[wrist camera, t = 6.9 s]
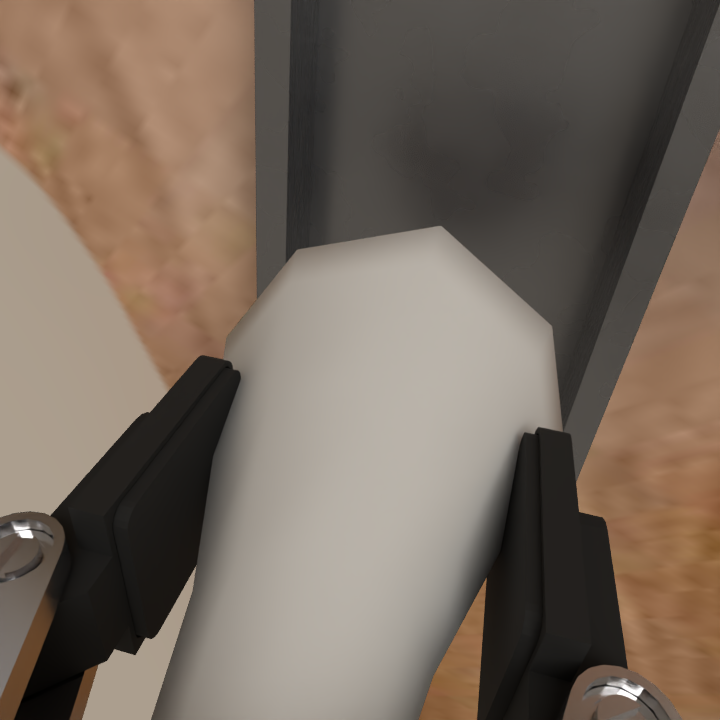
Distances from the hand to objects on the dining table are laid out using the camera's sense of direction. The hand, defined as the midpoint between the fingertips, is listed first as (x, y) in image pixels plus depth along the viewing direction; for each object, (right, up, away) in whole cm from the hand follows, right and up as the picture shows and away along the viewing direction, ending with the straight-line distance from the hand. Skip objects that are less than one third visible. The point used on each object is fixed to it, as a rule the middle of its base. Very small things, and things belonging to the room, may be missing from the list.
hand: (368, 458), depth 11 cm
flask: (+1, +1, +2) cm, 3 cm away
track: (+3, +6, +10) cm, 12 cm away
